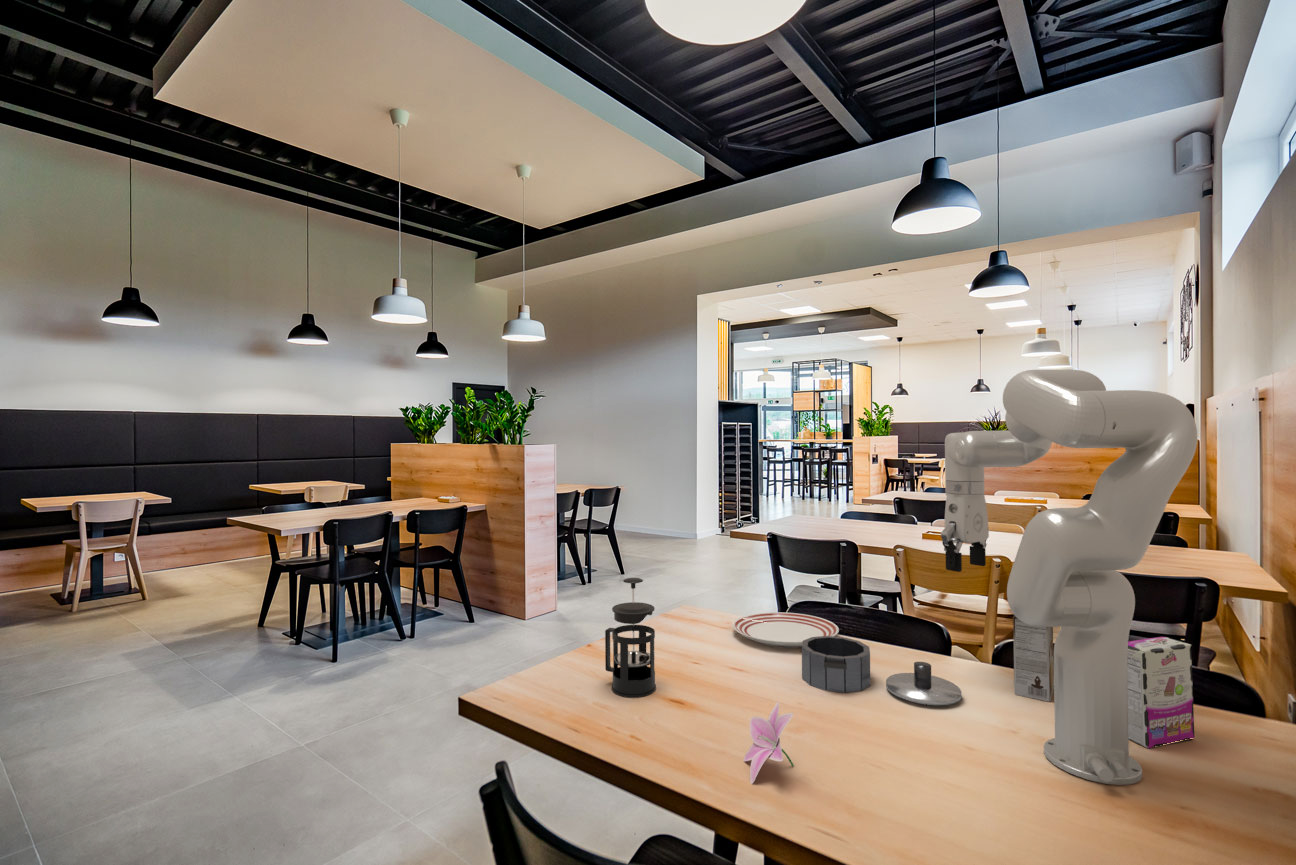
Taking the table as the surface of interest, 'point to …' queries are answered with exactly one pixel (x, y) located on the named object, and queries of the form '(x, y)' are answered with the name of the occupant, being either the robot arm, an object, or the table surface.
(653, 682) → the french press
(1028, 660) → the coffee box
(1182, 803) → the table surface
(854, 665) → the pot
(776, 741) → the lily
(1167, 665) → the candy bar box
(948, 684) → the lid
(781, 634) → the dinner plate
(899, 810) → the table surface
